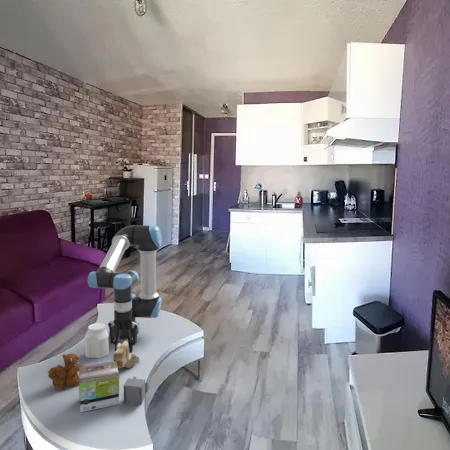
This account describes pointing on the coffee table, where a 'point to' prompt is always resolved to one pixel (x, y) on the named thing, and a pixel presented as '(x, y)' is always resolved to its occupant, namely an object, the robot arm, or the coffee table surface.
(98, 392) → the tea box
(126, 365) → the ceramic mug
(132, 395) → the gray bracket pieces
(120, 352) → the tan rectangular block
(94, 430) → the coffee table surface
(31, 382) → the coffee table surface
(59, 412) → the coffee table surface
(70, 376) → the stuffed squirrel
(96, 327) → the jar
